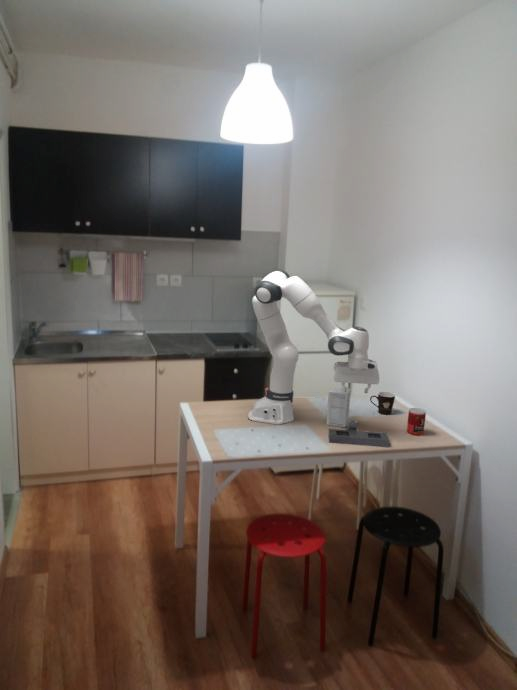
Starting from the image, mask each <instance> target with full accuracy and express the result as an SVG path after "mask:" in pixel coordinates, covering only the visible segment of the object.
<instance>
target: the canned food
mask: <svg viewBox="0 0 517 690" xmlns="http://www.w3.org/2000/svg"><path fill="white" fill-rule="evenodd" d="M426 415H427V410H425V409H423V408H418V407H410V408H409V409H408V415H407V423H406V424H407V425H406V433H407V434H409V435H411V436H418V437H420V436H422V435H423V434H424V431H425V424H426Z"/></svg>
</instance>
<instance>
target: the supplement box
mask: <svg viewBox="0 0 517 690" xmlns="http://www.w3.org/2000/svg"><path fill="white" fill-rule="evenodd" d="M351 392H352V388H348V387H347V392H344V388H343V387H339V386H331V388H330V389H329V390H328V394H327V395H328V398H327V410H326V425H328V426H331V427H332V426H334V427H340V428H346V427H347V426H348V419H349V417H350V416H349V414H350V406H351V405H350V403H351V402H350V401H351Z"/></svg>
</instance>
